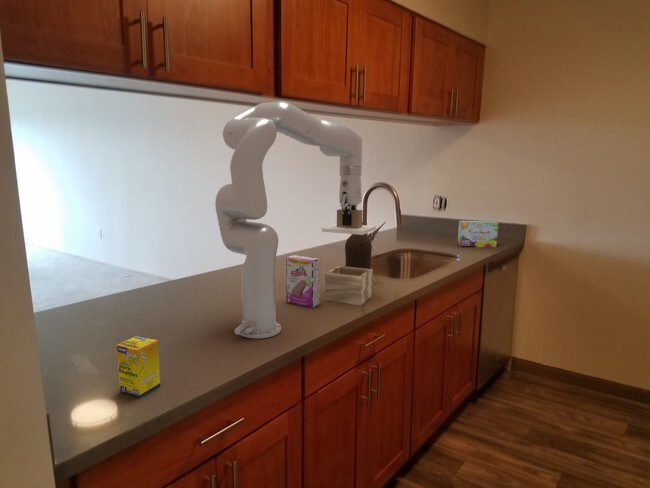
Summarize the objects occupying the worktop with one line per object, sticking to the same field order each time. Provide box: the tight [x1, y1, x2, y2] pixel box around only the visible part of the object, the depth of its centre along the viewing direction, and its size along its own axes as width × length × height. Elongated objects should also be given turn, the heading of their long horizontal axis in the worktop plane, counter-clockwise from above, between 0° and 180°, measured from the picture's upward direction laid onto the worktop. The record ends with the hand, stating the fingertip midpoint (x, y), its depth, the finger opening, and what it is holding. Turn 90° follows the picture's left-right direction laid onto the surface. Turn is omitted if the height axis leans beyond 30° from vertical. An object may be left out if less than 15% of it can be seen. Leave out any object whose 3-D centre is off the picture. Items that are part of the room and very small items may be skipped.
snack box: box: [456, 220, 499, 248], centre depth 263 cm, size 21×6×15 cm, turn 90°
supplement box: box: [116, 335, 161, 399], centre depth 98 cm, size 6×6×11 cm
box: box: [324, 265, 374, 306], centre depth 164 cm, size 12×13×10 cm
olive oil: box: [344, 221, 373, 269], centre depth 182 cm, size 11×11×25 cm
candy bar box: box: [285, 254, 321, 309], centre depth 156 cm, size 11×5×16 cm, turn 59°
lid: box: [321, 208, 377, 235], centre depth 159 cm, size 14×15×7 cm
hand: (349, 223), depth 160 cm, fingers closed on lid, 4 cm apart
